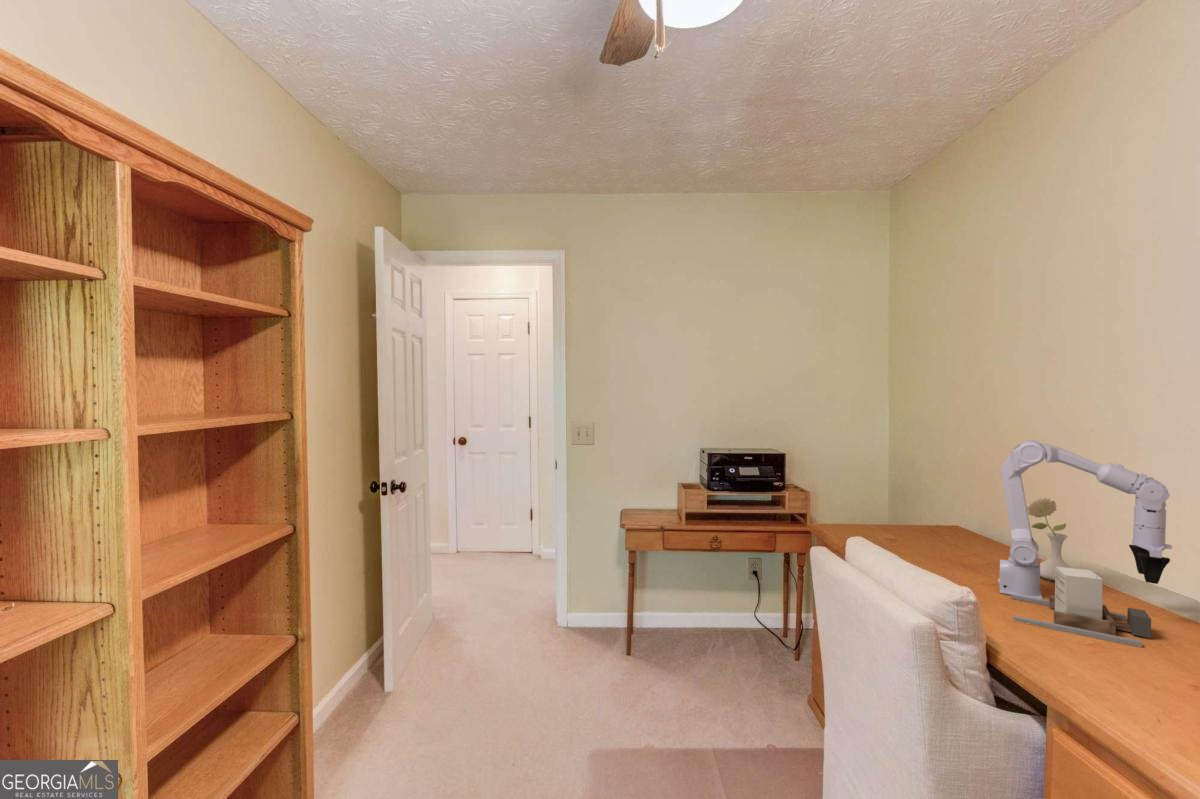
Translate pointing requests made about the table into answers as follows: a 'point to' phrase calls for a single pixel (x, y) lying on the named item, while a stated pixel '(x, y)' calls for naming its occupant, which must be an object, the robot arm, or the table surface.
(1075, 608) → the supplement box
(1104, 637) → the guide rails
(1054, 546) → the flower in vase
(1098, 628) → the bench vise
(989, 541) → the table surface
